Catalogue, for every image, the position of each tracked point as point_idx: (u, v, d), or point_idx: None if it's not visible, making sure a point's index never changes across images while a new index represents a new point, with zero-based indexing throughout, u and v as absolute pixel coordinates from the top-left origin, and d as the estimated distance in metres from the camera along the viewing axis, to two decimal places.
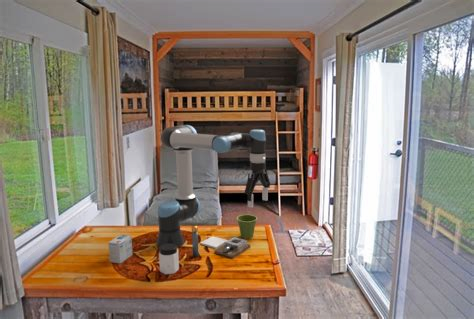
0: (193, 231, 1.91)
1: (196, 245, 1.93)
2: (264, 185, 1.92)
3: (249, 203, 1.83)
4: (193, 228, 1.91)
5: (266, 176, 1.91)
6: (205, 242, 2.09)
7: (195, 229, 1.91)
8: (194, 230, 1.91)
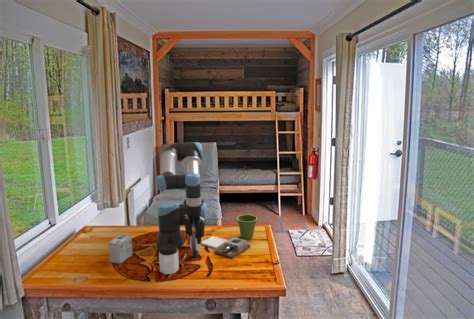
0: (193, 231, 1.91)
1: None
2: None
3: None
4: (193, 228, 1.91)
5: (199, 225, 1.89)
6: (205, 242, 2.09)
7: None
8: (194, 230, 1.91)
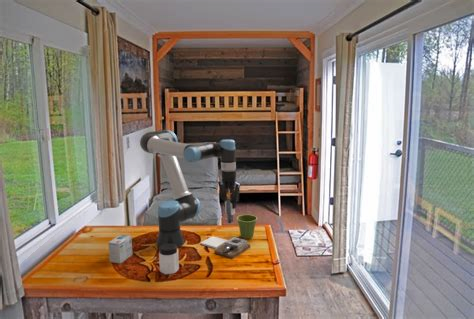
0: (228, 197, 1.95)
1: None
2: None
3: None
4: (228, 194, 1.95)
5: (234, 190, 1.92)
6: (205, 242, 2.09)
7: (230, 195, 1.95)
8: (229, 196, 1.95)
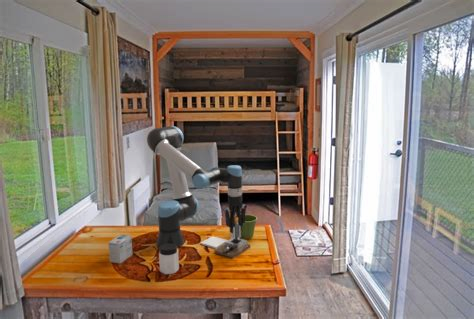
0: (237, 221, 2.00)
1: (238, 234, 2.02)
2: (238, 221, 2.02)
3: (231, 234, 2.01)
4: (237, 218, 2.00)
5: (243, 212, 2.02)
6: (205, 242, 2.09)
7: None
8: None
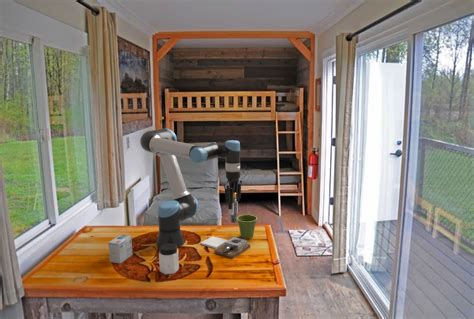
0: (235, 197, 1.98)
1: None
2: None
3: (230, 211, 1.99)
4: (235, 194, 1.98)
5: (239, 187, 2.01)
6: (205, 242, 2.09)
7: None
8: None
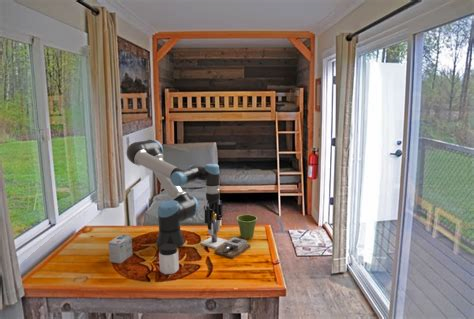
0: (215, 218, 2.07)
1: None
2: (216, 217, 2.11)
3: (209, 231, 2.07)
4: (215, 215, 2.07)
5: (220, 207, 2.11)
6: (205, 242, 2.09)
7: None
8: None
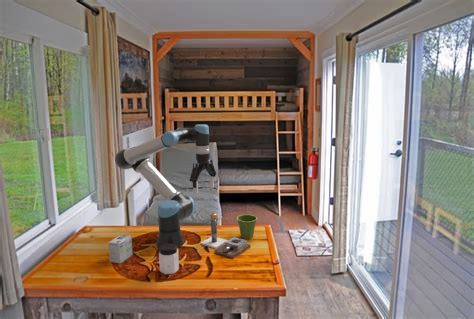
0: (215, 218, 2.07)
1: None
2: (210, 174, 2.15)
3: (194, 189, 2.06)
4: (215, 215, 2.07)
5: (212, 166, 2.14)
6: (205, 242, 2.09)
7: None
8: None
